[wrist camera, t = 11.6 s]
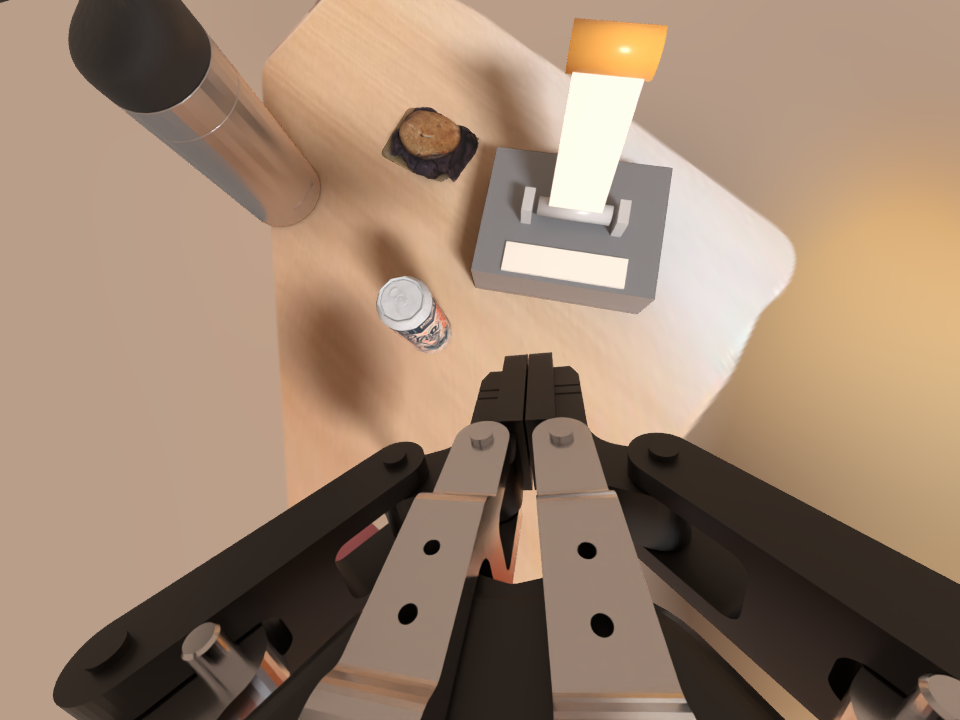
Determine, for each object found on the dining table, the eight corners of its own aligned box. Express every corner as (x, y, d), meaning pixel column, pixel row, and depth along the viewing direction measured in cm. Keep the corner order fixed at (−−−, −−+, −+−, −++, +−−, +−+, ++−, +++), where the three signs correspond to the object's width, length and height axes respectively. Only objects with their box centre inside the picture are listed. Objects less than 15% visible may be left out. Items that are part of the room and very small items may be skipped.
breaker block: (637, 314, 41) (665, 290, 33) (475, 287, 43) (468, 259, 35) (654, 197, 43) (683, 150, 36) (498, 177, 45) (496, 128, 38)
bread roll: (379, 161, 47) (368, 139, 44) (413, 107, 48) (405, 81, 44) (452, 195, 46) (447, 175, 42) (486, 138, 46) (483, 114, 43)
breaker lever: (607, 233, 36) (676, 34, 24) (535, 223, 37) (565, 25, 24) (608, 214, 38) (673, 19, 25) (538, 205, 38) (569, 11, 26)
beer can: (430, 363, 42) (398, 339, 30) (402, 333, 43) (360, 300, 31) (461, 332, 42) (441, 298, 30) (432, 304, 43) (402, 259, 31)
